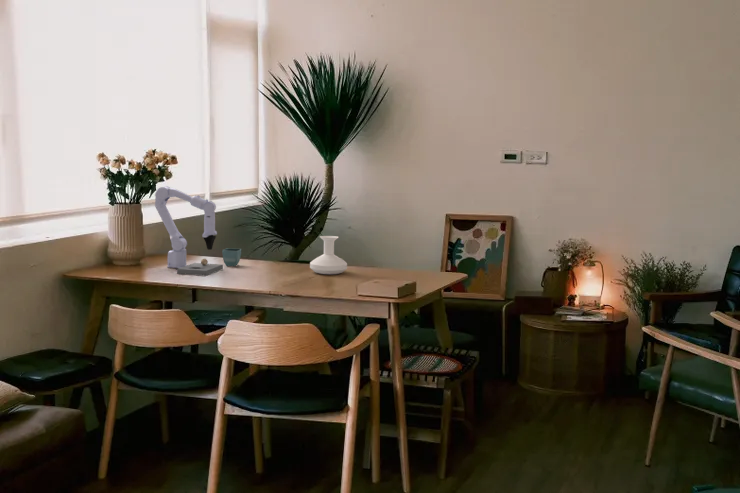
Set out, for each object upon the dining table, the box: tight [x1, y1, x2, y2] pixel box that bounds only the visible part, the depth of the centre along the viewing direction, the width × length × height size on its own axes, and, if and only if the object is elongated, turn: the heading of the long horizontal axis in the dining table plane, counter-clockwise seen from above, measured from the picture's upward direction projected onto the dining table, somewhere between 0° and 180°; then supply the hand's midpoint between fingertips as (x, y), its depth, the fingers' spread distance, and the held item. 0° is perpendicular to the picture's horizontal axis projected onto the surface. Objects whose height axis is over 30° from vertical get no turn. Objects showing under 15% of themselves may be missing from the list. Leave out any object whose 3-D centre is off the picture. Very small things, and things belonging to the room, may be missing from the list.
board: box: [176, 262, 224, 276], centre depth 425 cm, size 16×22×2 cm
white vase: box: [309, 235, 348, 275], centre depth 431 cm, size 20×20×19 cm
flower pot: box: [221, 247, 242, 267], centre depth 447 cm, size 9×9×9 cm
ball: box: [200, 258, 209, 265], centre depth 430 cm, size 4×4×4 cm
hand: (209, 249), depth 436 cm, fingers closed
